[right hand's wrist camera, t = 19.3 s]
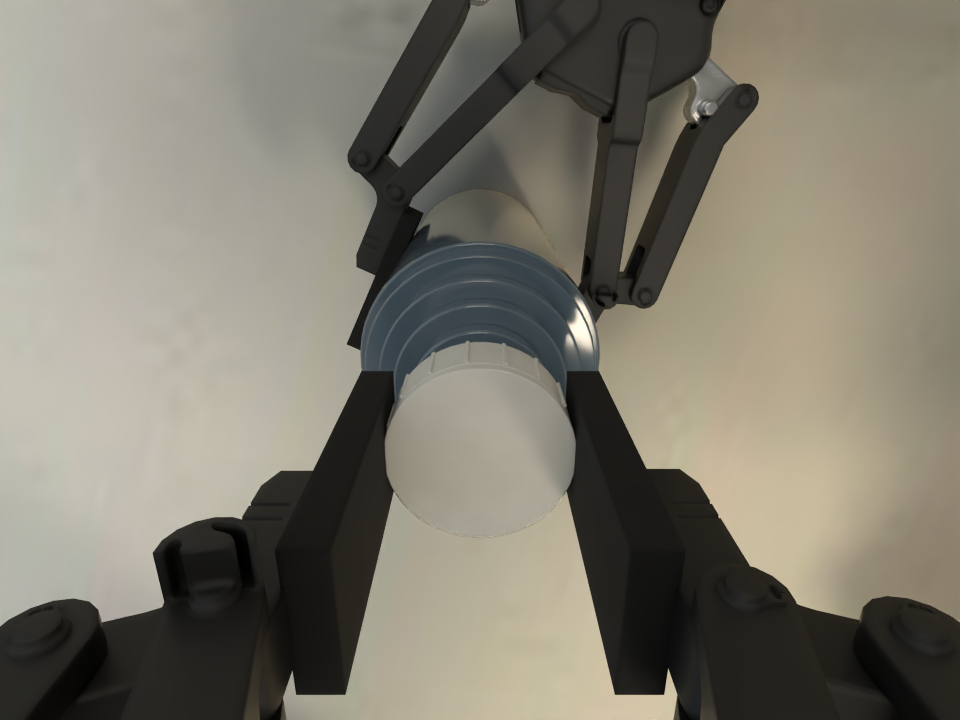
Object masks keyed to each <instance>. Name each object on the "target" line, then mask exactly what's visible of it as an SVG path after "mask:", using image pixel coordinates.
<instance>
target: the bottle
mask: <svg viewBox="0 0 960 720" xmlns="http://www.w3.org/2000/svg"><path fill="white" fill-rule="evenodd" d="M466 341H469V343H471V342H490V343H498V344H502V343H505V344H506V346H510V347H512V348H515V349H517V350H520V351H522V352H524V353H525V354H527V355H529V356H531V357H532V358H535V357H536V358H537V359H538V361H539V363H540V364H541V365H542V366H543V367H544V368H545V369H546V370H547V371H548V372H549V373H550V374H551V376H552V377H553V378H554V379H555V381H556V383H558V382H559V383H560V385H561V388H562V391H563V395H564V398H565V400H566V382H567V371H598V369H599V359H600V349H599V338H598V332H597V327H596V324H595V321H594V318H593V315H592V312H591V310H590V308H589V306H588V304H587V302H586V300H585V298H584V297H583V295H582V293H581V292H580V290H579V289H578V287H577V285H576V284H575V282H574V280H573V279H572V277H571V276H570V274H569V272H568V271H567V269H566V267H565V266H564V264H563V263H562V261H561V259H560V258H559V256H558V254H557V253H556V251H555V250H554V248H553V246H552V245H551V243H550V241H549V240H548V238H547V237H546V235H545V233H544V232H543V230H542V228H541V227H540V225H539V224H538V222H537V220H536V219H535V218H534V216H533V215H532V213H531V212H530V211H529V210H528V209H527V208H526V207H525V206H524V205H523V204H521V203H520V202H519V201H517V200H516V199H514V198H512V197H511V196H508V195H506V194H504V193H501V192H498V191H494V190H487V189H473V190H466V191H463V192H459V193H456V194H454V195H451V196H450V197H448V198H446V199H444V200H443V201H441V202H440V203H439V204H438V205H436V206H435V207H434V208H433V209H432V210H431V211H430V212H429V214H428V215H427V216H426V218H425V219H424V221H423V222H422V224H421V225H420V227H419V229H418V230H417V232H416V234H415V235H414V237H413V238H412V240H411V242H410V243H409V245H408V247H407V248H406V250H405V252H404V253H403V255H402V256H401V258H400V260H399V261H398V263H397V265H396V266H395V268H394V270H393V271H392V273H391V274H390V276H389V278H388V279H387V281H386V283H385V284H384V286H383V287H382V289H381V291H380V292H379V294H378V296H377V298H376V299H375V301H374V303H373V305H372V306H371V308H370V311H369V313H368V316H367V319H366V321H365V325H364V329H363V333H362V339H361V351H360V353H361V367H362V371H393V375H394V393H395V402H396V399H397V396H398V394H399V391H400V389H401V387H402V385H403V383H404V380H405V377H406V375H407V374H409V375H410V374H411V372H412V371H413V370H414V369H415V368H416V367H417V366H418V365H419V364H420V363H421V362H423V361H424V360H425V359H427V358H428V357H430V356H431V353H433V352H435V353H437V352H439V351H441V350H443V349H446V348H448V347H451V346H455V345H459V344H463V343H466Z"/></svg>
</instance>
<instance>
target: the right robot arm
mask: <svg viewBox="0 0 960 720" xmlns="http://www.w3.org/2000/svg"><path fill="white" fill-rule="evenodd" d="M565 401H566V404H567V411H568V414H569V417H570V420H571V424H572V427H573V430H574V434H575V438H576V448H575V464H574V475H573V478H572V480H571V483H570V485H569V487H568V489H567V494H568V499H569V503H570V507H571V511H572V516H573V520H574V524H575V528H576V532H577V537H578V541H579V545H580V549H581V553H582V558H583V562H584V566H585V570H586V575H587V579H588V583H589V587H590V591H591V596H592V600H593V604H594V608H595V612H596V617H597V621H598V625H599V629H600V633H601V638H602V642H603V646H604V650H605V655H606V659H607V663H608V667H609V671H610V676H611V680H612V684H613V688H614V692H615V695H664V692H665V685H666V679H667V672H668V668H669V671H670V674H671V677H672V680H673V683H674V686H675V689H676V691H677V694H678V695H677V702H676V708H675V714H674V720H960V623H959V622H958V621H957V620H955V619H954V618H953V617H951V616H949V615H947V614H945V613H943V612H941V611H940V610H938V609H936V608H934V607H932V606H930V605H927V604H924V603H920V602H917V601H914V600H911V599H908V598H899V597H890V596H886V597H881V598H876V599H872V600H871V601H869V602H868V603H867V604H866V605H865V606H864V607H863V610H862V613H861V616H860V620H856V619H851V618H847V617H843V616H838V615H834V614H830V613H825V612H821V611H817V610H813V609H810V608H807V607H803V606H800V605H798V604H797V603H796V601H795V599H794V598H793V596H792V595H791V593H790V592H789V590H788V589H787V588H786V587H785V586H784V585H783V584H782V583H780V582H779V581H778V580H777V579H775V578H774V577H773V576H771V575H769V574H767V573H765V572H763V571H761V570H759V569H757V568H755V567H750V565H749V564H748V562H747V560H746V559H745V557H744V556H743V554H742V552H741V551H740V549H739V547H738V546H737V544H736V543H735V541H734V539H733V538H732V536H731V534H730V533H729V531H728V530H727V528H726V526H725V525H724V523H723V521H722V520H721V518H719V517H718V513H717V512H716V510H715V508H714V507H713V505H712V504H710V500H709V499H708V497H707V495H706V494H705V492H704V491H703V489H702V487H701V486H700V484H699V483H698V482H696V481H695V480H694V479H692V478H691V477H690V476H688V475H687V474H686V473H684V472H683V471H682V470H680V469H646V467H645V465H644V463H643V461H642V459H641V457H640V455H639V453H638V451H637V449H636V447H635V445H634V442H633V440H632V438H631V436H630V434H629V432H628V430H627V428H626V426H625V424H624V422H623V420H622V418H621V416H620V414H619V412H618V410H617V408H616V405H615V403H614V401H613V399H612V397H611V395H610V393H609V391H608V389H607V387H606V385H605V383H604V381H603V379H602V377H601V375H600V373H599V371H567V382H566V400H565ZM394 403H395V393H394V375H393V371H361V373H360V376H359V378H358V380H357V382H356V384H355V386H354V388H353V390H352V392H351V394H350V396H349V398H348V400H347V402H346V404H345V406H344V408H343V410H342V412H341V415H340V417H339V419H338V421H337V423H336V425H335V427H334V429H333V431H332V433H331V435H330V437H329V439H328V441H327V443H326V445H325V447H324V449H323V452H322V454H321V456H320V458H319V460H318V462H317V464H316V466H315V468H314V470H313V471H280V472H279V473H278V474H276V475H275V476H274V477H272V478H271V479H270V480H268V481H267V482H266V483H264V484H263V485H262V486H261V487H260V489H259V490H258V492H257V494H256V495H255V497H254V499H253V500H252V502H251V506H249V507H248V508H247V510H246V512H245V513H244V515H243V517H242V520H241V519H237V518H234V517H215V518H210V519H206V520H201V521H197V522H194V523H192V524H189V525H187V526H185V527H182V528H180V529H178V530H176V531H175V532H173V533H172V534H170V535H169V536H168V537H166V538H165V539H164V540H162V541H161V543H160V544H159V545H158V547H157V548H156V549H155V551H154V552H153V556H154V561H155V565H156V569H157V573H158V577H159V581H160V586H161V590H162V594H163V598H164V604H163V607H162V608H159V609H155V610H152V611H149V612H145V613H142V614H137V615H133V616H128V617H124V618H120V619H115V620H111V621H107V622H101V618H100V615H99V611H98V609H97V608H96V607H95V606H93V605H92V604H91V603H90V602H88V601H83V600H78V599H66V600H57V601H52V602H48V603H45V604H42V605H39V606H36V607H33V608H30V609H28V610H27V611H25V612H23V613H21V614H19V615H17V616H15V617H13V618H11V619H10V620H8V621H7V622H5V623H4V624H3V625H2V626H0V720H286V715H285V708H284V702H283V696H284V693H285V690H286V687H287V684H288V681H289V678H290V675H291V673H292V670H293V676H294V683H295V690H296V695H345V694H346V690H347V686H348V681H349V677H350V673H351V669H352V665H353V660H354V656H355V652H356V648H357V644H358V639H359V635H360V631H361V627H362V622H363V618H364V614H365V610H366V606H367V601H368V597H369V593H370V589H371V585H372V580H373V576H374V572H375V568H376V564H377V559H378V555H379V551H380V547H381V542H382V538H383V534H384V530H385V526H386V521H387V517H388V513H389V509H390V505H391V500H392V496H393V492H394V490H393V488H392V486H391V484H390V482H389V479H388V477H387V472H386V458H385V436H386V432H387V423H388V420H389V417H390V414H391V410H392V407H393V404H394Z"/></svg>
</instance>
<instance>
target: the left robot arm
mask: <svg viewBox="0 0 960 720" xmlns="http://www.w3.org/2000/svg"><path fill="white" fill-rule="evenodd" d="M489 1H490V0H432V1H431V3H430V5H429V7H428V9H427V10H426V12H425V14H424V16H423V18H422V20H421V21H420V23H419V25H418V27H417V29H416V30H415V32H414V34H413V36H412V38H411V39H410V41H409V43H408V45H407V47H406V48H405V50H404V52H403V54H402V56H401V57H400V59H399V61H398V63H397V65H396V67H395V68H394V70H393V72H392V74H391V76H390V77H389V79H388V81H387V83H386V85H385V86H384V88H383V90H382V92H381V94H380V95H379V97H378V99H377V101H376V103H375V105H374V106H373V108H372V110H371V112H370V114H369V115H368V117H367V119H366V121H365V123H364V124H363V126H362V128H361V130H360V132H359V133H358V135H357V137H356V139H355V141H354V143H353V144H352V146H351V148H350V150H349V153H348V163H349V165H350V167H351V168H352V169H353V170H354V171H355V172H358V173H360V174H361V175H362V176H363V177H364V178H365V179H366V180H367V181H368V182H369V183H370V184H371V185H372V186H373V188H374V189H375V191H376V194H377V205H376V208H375V210H374V213H373V215H372V218H371V220H370V223H369V225H368V228H367V230H366V233H365V235H364V237H363V240H362V243H361V245H360V247H359V250H358V252H357V255H356V257H357V267H358V268H360V269H363V270H365V271H367V272H369V273H371V274H374V275H376V276H375V278H374V281H373V283H372V285H371V288H370V290H369V293H368V295H367V297H366V300H365V302H364V304H363V307H362V309H361V311H360V314H359V316H358V319H357V321H356V323H355V326H354V328H353V330H352V333H351V335H350V338H349V340H348V342H347V345H350V346H352V347H354V348H356V349H359V350H361V339H362V333H363V329H364V325H365V321H366V319H367V316H368V313H369V311H370V308H371V306H372V305H373V303H374V301H375V299H376V298H377V296H378V294H379V292H380V291H381V289H382V287H383V286H384V284H385V283H386V281H387V279H388V278H389V276H390V274H391V273H392V271H393V270H394V268H395V266H396V265H397V263H398V261H399V260H400V258H401V256H402V255H403V253H404V252H405V250H406V248H407V247H408V245H409V243H410V242H411V240H412V238H413V236H414V234H415V232H416V229H417V227H418V225H419V222H420V220H421V218H422V215H423V213H422V212H420V211H418V210H416V209H414V208H412V207H410V206H409V205H410V202H411V200H412V198H413V196H414V195H415V194H416V193H417V192H418V191H420V190H421V189H422V188H423V187H424V186H425V185H426V184H427V183H428V182H429V181H430V180H431V179H432V178H433V177H434V176H435V175H436V174H437V173H438V172H439V171H440V170H441V169H442V168H443V167H444V166H445V165H446V164H447V163H448V162H449V161H450V160H451V159H452V158H453V157H454V156H455V155H456V154H457V153H458V152H459V151H460V150H461V149H462V148H463V147H464V146H465V145H466V144H467V143H468V142H469V141H470V140H471V139H472V138H473V137H474V136H475V135H476V134H477V133H478V132H479V131H480V130H481V129H482V128H483V127H484V126H485V125H486V124H487V123H488V122H489V121H490V120H491V119H492V118H493V117H494V116H495V115H496V114H497V113H498V112H499V111H500V110H501V109H502V108H503V107H505V106H506V105H507V104H508V103H509V102H510V101H511V100H512V99H513V98H514V97H515V96H516V95H517V94H518V93H519V92H520V91H521V90H522V89H523V88H524V87H525V86H526V85H527V84H528V83H529V82H530V81H531V80H532V79H534V80H535V81H536V82H535V84H537V85H538V86H540V87H542V88H544V89H546V90H548V91H550V92H554V93H559V94H564V95H568V96H570V97H571V98H572V99H573V100H574V101H575V102H576V103H577V104H578V105H579V106H580V107H581V108H582V109H584V110H585V111H587V112H589V113H591V114H593V115H595V116H597V117H599V123H598V132H597V140H598V148H597V156H596V164H595V172H594V180H593V187H592V195H591V203H590V211H589V219H588V227H587V235H586V243H585V251H584V259H583V267H582V275H581V283H580V285H579V287H578V289H579V290H580V292H581V293H582V295H583V297H584V298H585V300H586V302H587V304H588V306H589V308H590V310H591V312H592V315H593V318H594V321H595V324H596V322H597V320H598V318H599V317H600V315H601V313H602V312H603V310H605V309H610V308H612V307H614V306H615V305H616V304H628V305H635V306H637V307H639V308H644V309H645V308H649V307H651V306H652V305H654V304H655V302H656V301H657V299H658V296H659V294H660V292H661V290H662V287H663V285H664V283H665V280H666V278H667V276H668V273H669V271H670V269H671V266H672V264H673V262H674V259H675V257H676V255H677V253H678V250H679V248H680V246H681V243H682V241H683V239H684V236H685V234H686V232H687V229H688V227H689V225H690V222H691V220H692V218H693V216H694V213H695V211H696V209H697V206H698V204H699V202H700V199H701V197H702V195H703V192H704V190H705V188H706V185H707V183H708V181H709V178H710V176H711V174H712V172H713V169H714V167H715V165H716V162H717V160H718V158H719V155H720V153H721V151H722V148H723V146H724V144H725V143H726V142H727V141H728V140H729V139H730V137H731V136H732V135H733V134H734V133H735V132H736V130H737V129H738V128H739V127H740V126H741V125H742V123H743V122H744V121H745V120H746V119H747V118H748V116H749V115H750V114H751V113H752V112H753V111H754V109H755V107H756V106H757V104H758V99H759V96H758V91H757V90H756V88H755V87H754V86H752V85H751V84H739V85H738V84H736V83H735V82H734V81H733V80H732V79H731V78H730V77H729V76H728V75H726V74H725V73H724V72H723V71H722V70H721V69H720V68H719V67H718V66H717V65H716V64H715V63H714V62H713V61H712V60H711V59H710V58H709V55H710V51H711V40H712V31H713V27H714V23H715V20H716V18H717V15H718V13H719V12H720V10H721V8H722V6H723V4H724V3H725V1H726V0H515V3H516V10H517V17H518V24H519V31H520V38H521V45H520V46H519V47H518V48H517V49H516V50H515V51H514V52H513V53H512V54H511V55H510V56H509V57H508V58H507V59H506V60H505V61H504V62H503V63H502V64H501V65H500V66H499V67H498V69H497V70H496V71H495V72H494V73H493V74H492V75H491V76H490V77H489V78H488V79H487V80H486V81H485V82H484V83H483V84H482V85H481V86H480V87H479V88H478V89H477V90H476V91H475V92H474V93H473V94H472V95H471V96H470V97H469V98H468V99H467V100H466V101H465V102H464V103H463V104H462V105H461V106H460V107H459V108H458V109H457V110H456V111H455V112H454V113H453V114H452V115H451V116H450V117H449V119H448V120H447V121H446V122H445V123H444V124H443V125H442V126H441V127H440V128H439V129H438V130H437V131H436V132H435V133H434V134H433V135H432V136H431V137H430V138H429V139H428V140H427V141H426V142H425V143H424V144H423V145H422V146H421V147H420V148H419V149H418V150H417V151H416V152H415V153H414V154H413V155H412V156H411V157H410V158H409V159H408V160H407V161H406V162H405V163H404V164H403V165H402V166H401V167H399V166H398V165H397V164H396V163H395V162H394V161H393V160H392V159H391V158H390V157H389V156H388V155H389V153H390V152H391V150H392V148H393V146H394V145H395V143H396V141H397V139H398V138H399V136H400V134H401V132H402V131H403V129H404V127H405V125H406V124H407V122H408V120H409V119H410V117H411V115H412V113H413V112H414V110H415V108H416V106H417V105H418V103H419V101H420V99H421V98H422V96H423V94H424V93H425V91H426V89H427V87H428V86H429V84H430V82H431V80H432V79H433V77H434V75H435V73H436V72H437V70H438V68H439V67H440V65H441V63H442V61H443V60H444V58H445V56H446V54H447V53H448V51H449V49H450V47H451V46H452V44H453V42H454V40H455V39H456V37H457V35H458V34H459V32H460V30H461V28H462V26H463V24H464V22H465V20H466V17H467V15H468V12H469V9H470V6H471V5H474V6H482V5H485V4H486V3H488V2H489ZM684 81H685V82H686V83H687V84H688V87H689V97H688V99H687V101H686V104H685V106H684V110H683V111H684V117H685V119H686V120H687V121H688V123H687V124H686V126H685V127H684V129H683V130H682V132H681V134H680V136H679V138H678V140H677V142H676V144H675V146H674V149H673V151H672V154H671V156H670V158H669V161H668V163H667V166H666V168H665V171H664V173H663V176H662V178H661V181H660V183H659V186H658V188H657V191H656V193H655V196H654V198H653V201H652V203H651V205H650V208H649V210H648V213H647V215H646V218H645V220H644V223H643V225H642V228H641V230H640V233H639V235H638V238H637V240H636V243H635V245H634V247H633V250H632V252H631V255H630V257H629V260H628V262H627V265H626V267H625V270H624V272H620V271H619V270H620V263H621V257H622V250H623V243H624V237H625V230H626V223H627V216H628V210H629V203H630V196H631V190H632V183H633V176H634V169H635V163H636V156H637V150H638V146H639V144H640V142H641V139H642V135H643V130H644V123H645V117H646V110H647V103H648V102H649V101H651V100H652V99H654V98H656V97H658V96H659V95H661V94H663V93H665V92H667V91H668V90H670V89H672V88H674V87H675V86H677V85H679V84H681V83H683V82H684Z"/></svg>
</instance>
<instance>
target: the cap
mask: <svg viewBox="0 0 960 720" xmlns="http://www.w3.org/2000/svg"><path fill="white" fill-rule="evenodd" d="M575 448H576V438H575V434H574V430H573V427H572V424H571V420H570V417H569V414H568V411H567V404H566V401H565V398H564V395H563V391H562V388H561V385H560V383H559V382H558V383H556V381H555V379H554V378H553V377H552V376H551V374H550V373H549V372H548V371H547V370H546V369H545V368H544V367H543V366H542V365H541V364H540V363H539V361H538V359H537V358H536V357H535V358H532V357H531V356H529V355H527V354H525V353H524V352H522V351H520V350H517V349H515V348H512V347H510V346H506V344H505V343H502V344H498V343H490V342H471V343H469V341H466V343H463V344H459V345H455V346H451V347H448V348H446V349H443V350H441V351H439V352H437V353H435V352H433V353H431V356H430V357H428V358H427V359H425V360H424V361H423V362H421V363H420V364H419V365H418V366H417V367H416V368H415V369H414V370H413V371H412V372H411V374H410V375H409V374H407V375H406V377H405V380H404V383H403V385H402V387H401V389H400V391H399V394H398V396H397V399H396V402H395V403H394V404H393V407H392V410H391V414H390V417H389V420H388V423H387V432H386V436H385V458H386V472H387V477H388V479H389V482H390V484H391V486H392V488H393V490H394V492H395V494H396V495H397V497H398V498H399V499H400V501H401V502H402V503H403V504H404V505H405V506H406V508H407V509H408V510H409V511H410V512H411V513H413V514H414V515H415V516H416V517H418V518H419V519H420V520H422V521H424V522H425V523H427V524H428V525H430V526H432V527H435V528H437V529H439V530H441V531H444V532H447V533H450V534H454V535H459V536H464V537H474V538H487V537H496V536H502V535H506V534H510V533H513V532H516V531H519V530H522V529H524V528H526V527H528V526H530V525H532V524H534V523H535V522H537V521H538V520H540V519H542V518H543V517H544V516H545V515H546V514H548V513H549V512H550V511H551V510H552V509H553V508H554V507H555V506H556V505H557V504H558V503H559V501H560V500H561V498H562V497H563V496H564V494H565V493H566V491H567V489H568V487H569V485H570V483H571V480H572V478H573V475H574V464H575Z"/></svg>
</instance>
